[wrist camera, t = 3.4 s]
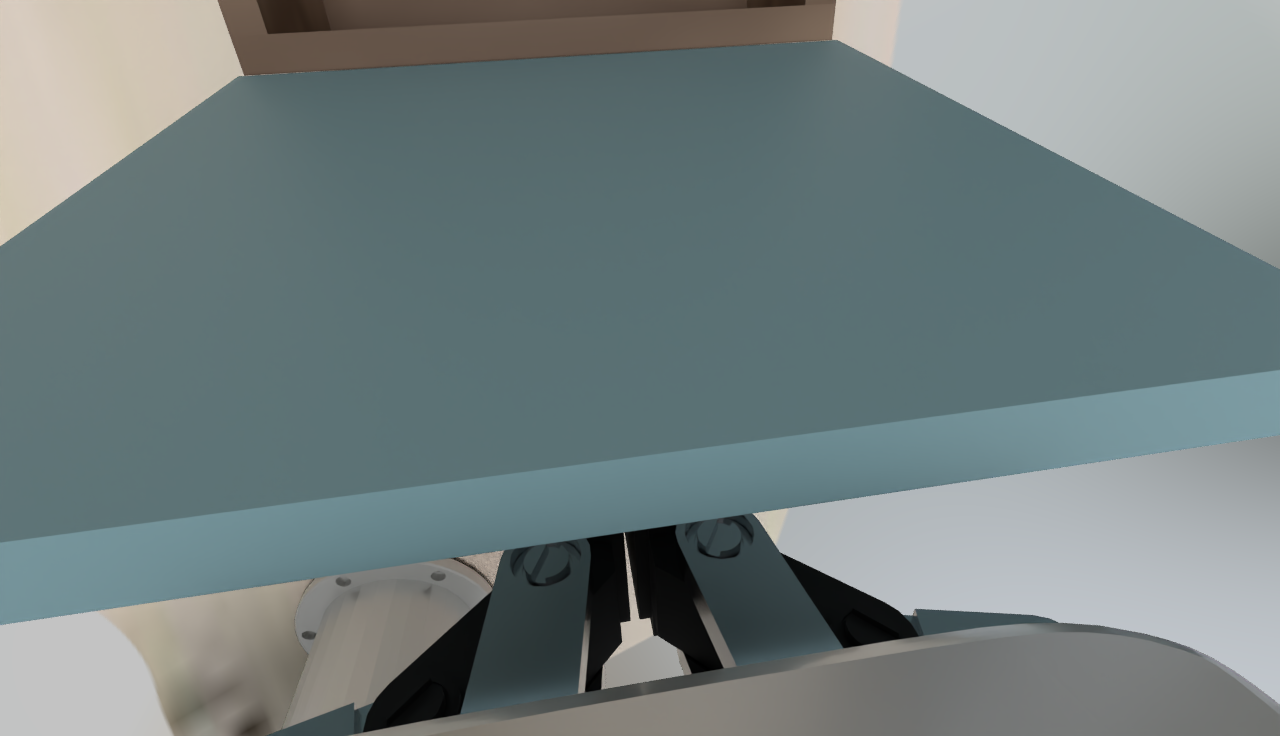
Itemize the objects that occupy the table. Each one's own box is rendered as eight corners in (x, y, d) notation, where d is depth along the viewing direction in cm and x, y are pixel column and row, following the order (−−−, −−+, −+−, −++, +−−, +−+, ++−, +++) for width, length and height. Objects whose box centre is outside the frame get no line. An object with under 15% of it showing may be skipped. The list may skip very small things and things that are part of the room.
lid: (837, 39, 18) (830, 80, 19) (238, 76, 17) (257, 119, 17) (1433, 349, 6) (1349, 424, 7) (-512, 611, 5) (-339, 675, 5)
